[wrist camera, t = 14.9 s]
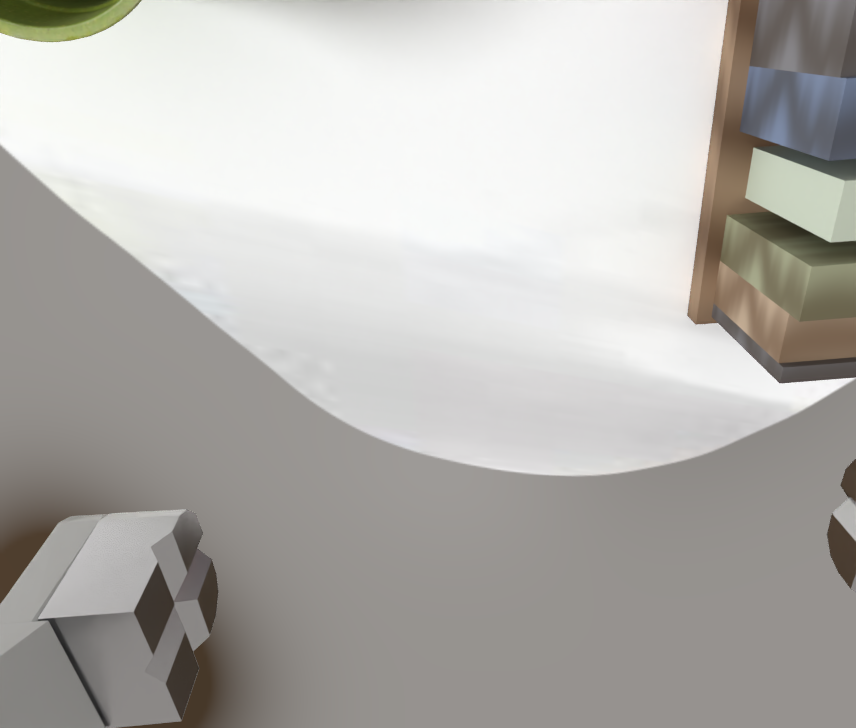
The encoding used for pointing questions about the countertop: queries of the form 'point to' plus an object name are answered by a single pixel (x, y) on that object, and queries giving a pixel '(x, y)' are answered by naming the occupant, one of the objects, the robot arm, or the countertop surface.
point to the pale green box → (806, 190)
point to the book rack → (760, 228)
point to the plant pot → (60, 18)
